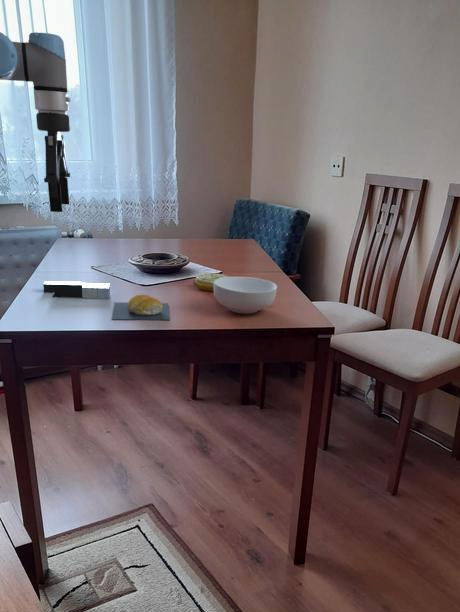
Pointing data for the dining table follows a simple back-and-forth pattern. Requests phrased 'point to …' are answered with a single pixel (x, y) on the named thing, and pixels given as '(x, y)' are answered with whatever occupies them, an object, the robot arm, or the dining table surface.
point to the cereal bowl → (244, 293)
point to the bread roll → (144, 305)
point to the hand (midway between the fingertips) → (60, 207)
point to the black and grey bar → (77, 290)
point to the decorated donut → (207, 280)
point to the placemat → (124, 314)
